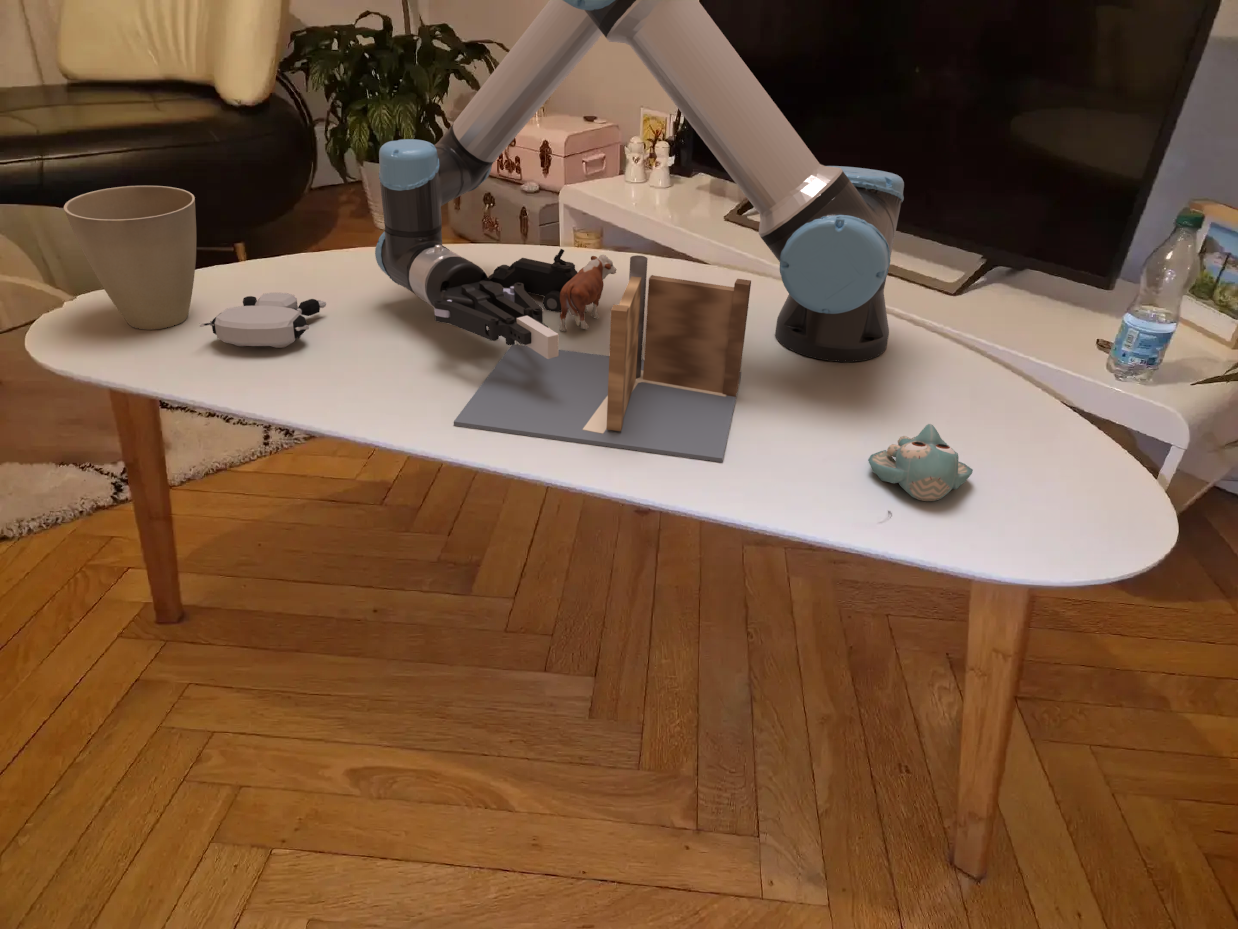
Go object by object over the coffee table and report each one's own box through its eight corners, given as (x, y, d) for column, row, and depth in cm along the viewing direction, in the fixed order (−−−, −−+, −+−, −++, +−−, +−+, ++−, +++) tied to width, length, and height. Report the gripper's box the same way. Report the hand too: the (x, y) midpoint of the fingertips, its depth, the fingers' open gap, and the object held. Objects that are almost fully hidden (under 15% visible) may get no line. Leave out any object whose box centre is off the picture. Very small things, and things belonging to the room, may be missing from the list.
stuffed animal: (968, 409, 100) (998, 445, 89) (955, 471, 103) (983, 513, 92) (867, 400, 101) (884, 434, 90) (857, 462, 104) (873, 503, 93)
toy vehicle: (562, 319, 133) (565, 260, 129) (469, 297, 137) (469, 239, 133) (584, 300, 140) (588, 243, 135) (495, 280, 144) (496, 224, 139)
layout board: (740, 375, 118) (741, 371, 117) (722, 462, 99) (722, 457, 99) (512, 347, 122) (512, 343, 122) (453, 425, 104) (453, 420, 103)
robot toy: (244, 317, 129) (201, 355, 116) (240, 285, 127) (195, 320, 114) (333, 321, 130) (300, 359, 116) (330, 289, 127) (296, 324, 114)
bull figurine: (619, 307, 136) (622, 253, 131) (577, 339, 125) (578, 281, 121) (592, 301, 137) (594, 247, 133) (548, 333, 127) (548, 275, 122)
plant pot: (75, 319, 124) (42, 199, 116) (182, 291, 134) (158, 179, 126) (129, 352, 116) (97, 226, 108) (238, 320, 126) (217, 202, 118)
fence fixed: (622, 381, 115) (628, 259, 107) (627, 374, 116) (633, 254, 108) (734, 401, 111) (749, 277, 103) (737, 394, 113) (752, 271, 105)
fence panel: (624, 378, 114) (629, 267, 106) (637, 379, 113) (643, 269, 106) (606, 429, 102) (611, 309, 95) (620, 431, 102) (626, 311, 95)
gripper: (402, 264, 116) (503, 327, 100) (492, 247, 123) (600, 304, 107) (407, 320, 119) (504, 390, 104) (494, 301, 126) (598, 363, 111)
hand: (553, 346), depth 105 cm, fingers closed
